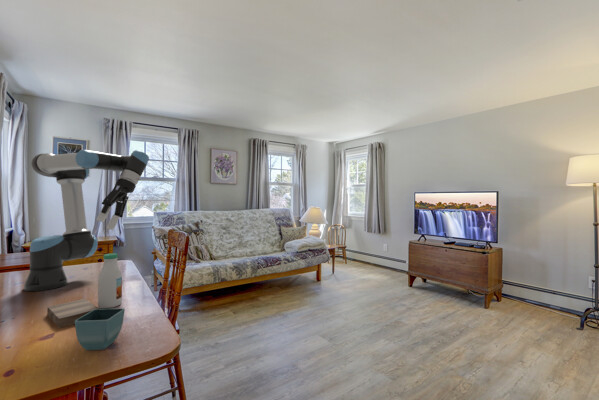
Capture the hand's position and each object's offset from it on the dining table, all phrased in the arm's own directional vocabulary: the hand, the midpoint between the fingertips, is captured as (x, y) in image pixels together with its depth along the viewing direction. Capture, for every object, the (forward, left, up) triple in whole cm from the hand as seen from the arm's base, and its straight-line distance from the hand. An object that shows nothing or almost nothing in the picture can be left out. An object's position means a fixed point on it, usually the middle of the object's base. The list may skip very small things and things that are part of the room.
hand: (104, 225), depth 119 cm
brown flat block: (+14, -14, -30) cm, 36 cm away
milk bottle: (+12, -2, -31) cm, 33 cm away
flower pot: (+45, -15, -31) cm, 56 cm away
